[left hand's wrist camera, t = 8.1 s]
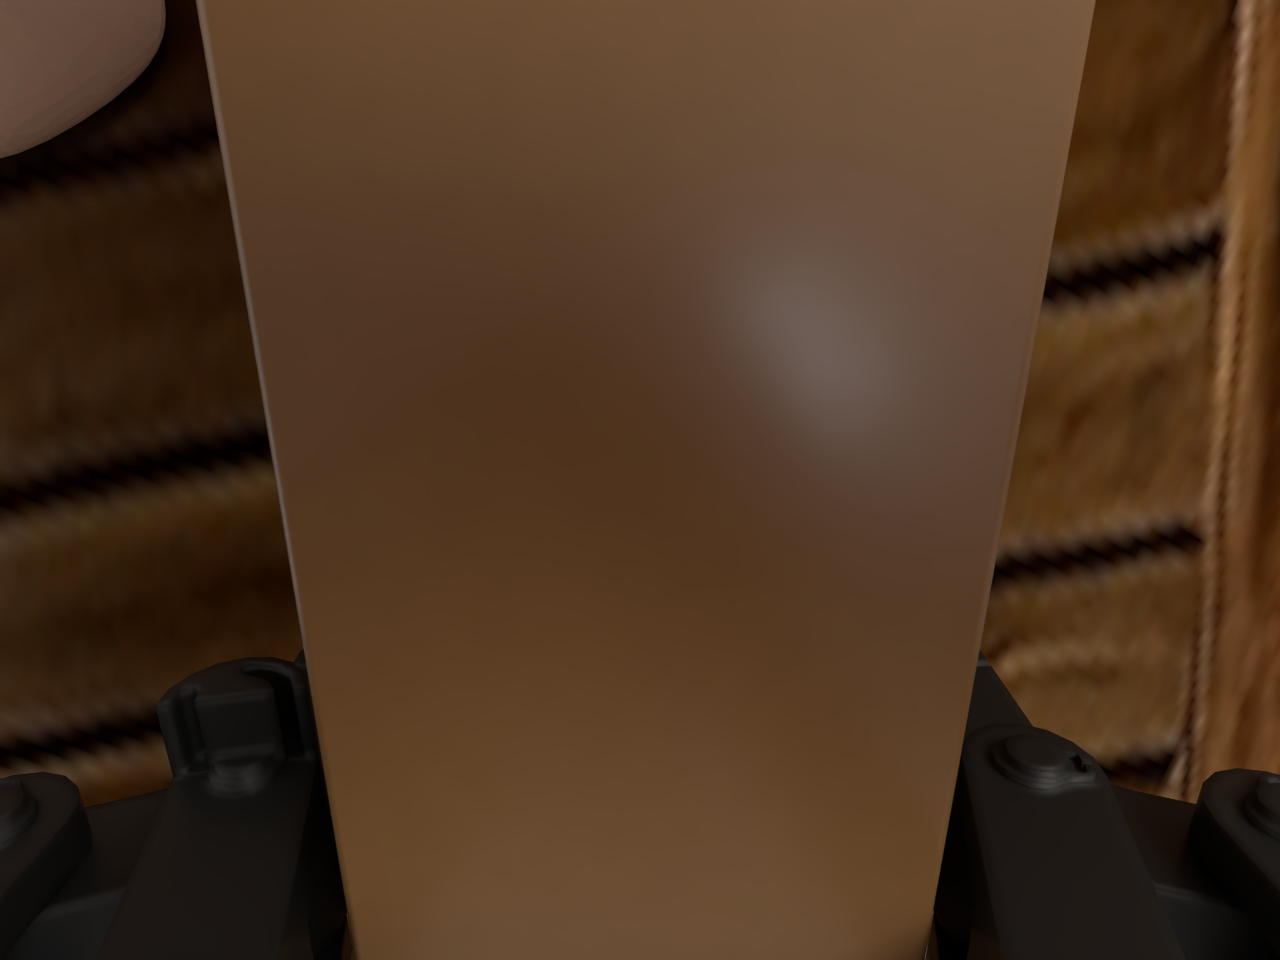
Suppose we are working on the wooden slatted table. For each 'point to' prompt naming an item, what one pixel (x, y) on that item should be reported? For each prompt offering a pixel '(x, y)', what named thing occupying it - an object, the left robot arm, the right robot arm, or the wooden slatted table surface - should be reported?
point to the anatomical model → (68, 62)
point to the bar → (642, 443)
